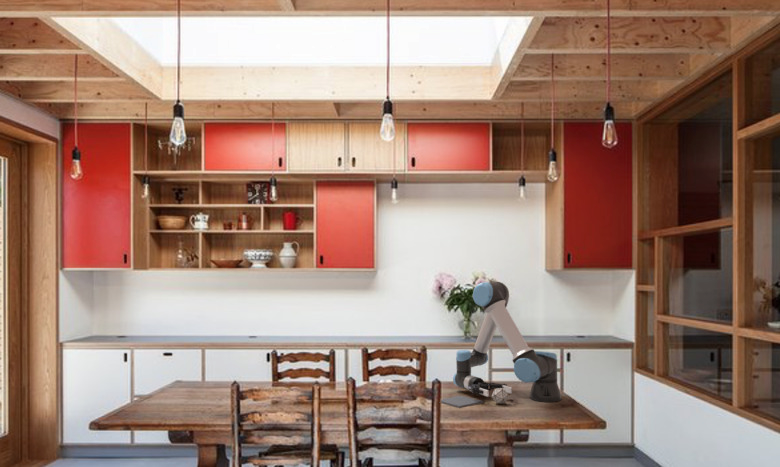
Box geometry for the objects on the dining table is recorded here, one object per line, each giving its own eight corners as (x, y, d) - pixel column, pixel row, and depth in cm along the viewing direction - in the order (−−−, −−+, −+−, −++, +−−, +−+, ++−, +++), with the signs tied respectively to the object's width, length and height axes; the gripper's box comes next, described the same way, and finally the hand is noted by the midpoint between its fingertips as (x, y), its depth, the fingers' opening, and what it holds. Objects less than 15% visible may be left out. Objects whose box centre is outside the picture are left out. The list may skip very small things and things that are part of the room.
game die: (503, 412, 299) (508, 398, 293) (486, 405, 301) (491, 391, 295) (508, 400, 306) (513, 386, 300) (491, 393, 308) (496, 379, 303)
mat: (460, 397, 317) (460, 395, 317) (483, 402, 304) (483, 401, 304) (436, 401, 307) (436, 400, 307) (459, 407, 294) (459, 406, 294)
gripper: (494, 389, 325) (520, 397, 306) (453, 394, 314) (478, 402, 295) (494, 374, 325) (520, 381, 306) (453, 379, 314) (477, 386, 295)
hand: (499, 392), depth 300 cm, fingers open, 13 cm apart
